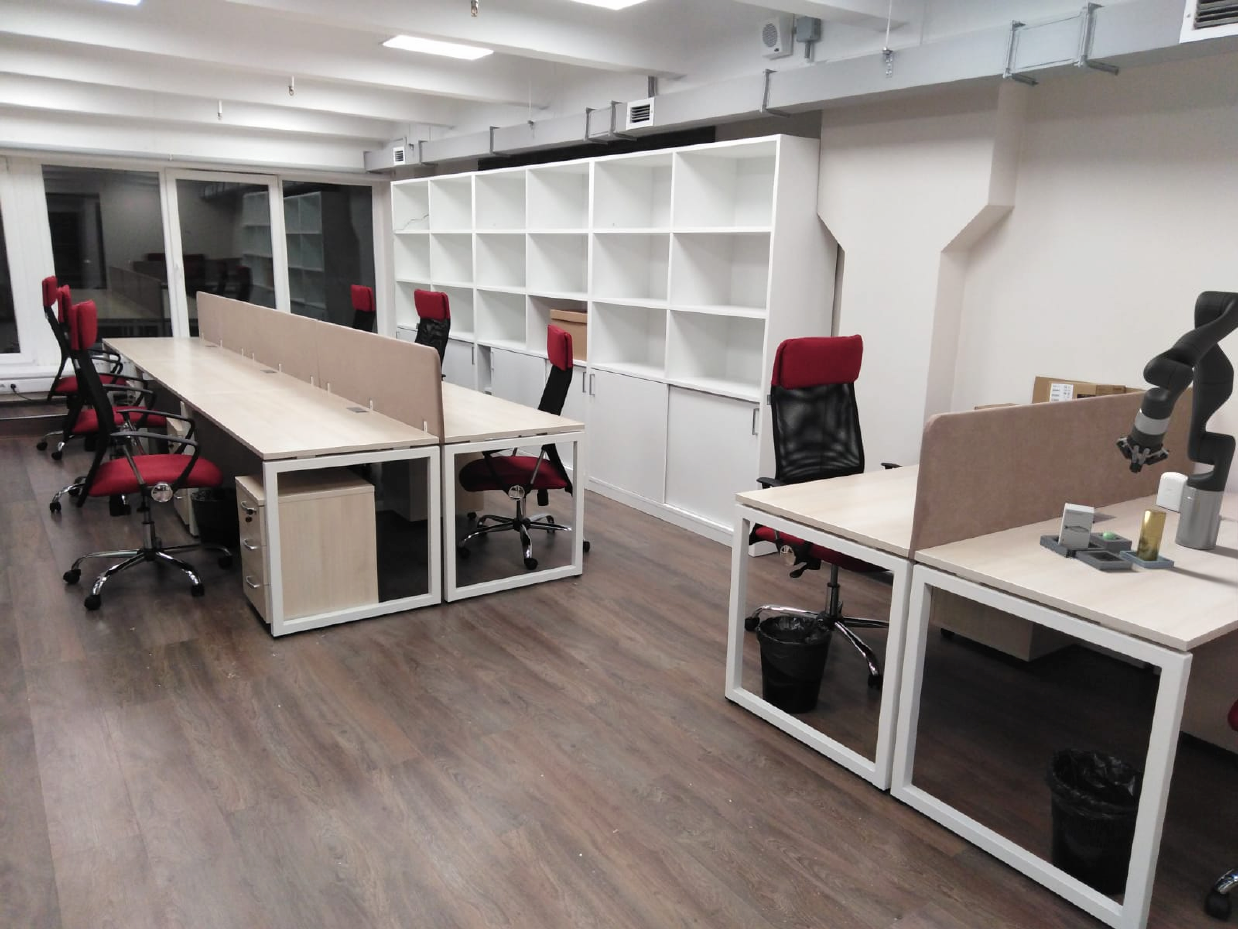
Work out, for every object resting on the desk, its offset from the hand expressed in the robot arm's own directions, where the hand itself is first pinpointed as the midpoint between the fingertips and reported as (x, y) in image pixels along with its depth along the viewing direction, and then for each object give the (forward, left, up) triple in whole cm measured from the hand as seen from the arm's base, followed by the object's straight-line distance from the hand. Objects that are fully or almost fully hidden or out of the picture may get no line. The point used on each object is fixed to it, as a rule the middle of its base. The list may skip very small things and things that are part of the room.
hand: (1134, 470), depth 237 cm
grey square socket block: (+2, -3, -23) cm, 24 cm away
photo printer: (-53, -41, -24) cm, 71 cm away
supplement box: (+14, -2, -24) cm, 27 cm away
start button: (+2, -3, -22) cm, 22 cm away
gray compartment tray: (+14, +4, -23) cm, 28 cm away
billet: (0, +9, -23) cm, 25 cm away
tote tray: (0, +9, -23) cm, 25 cm away
